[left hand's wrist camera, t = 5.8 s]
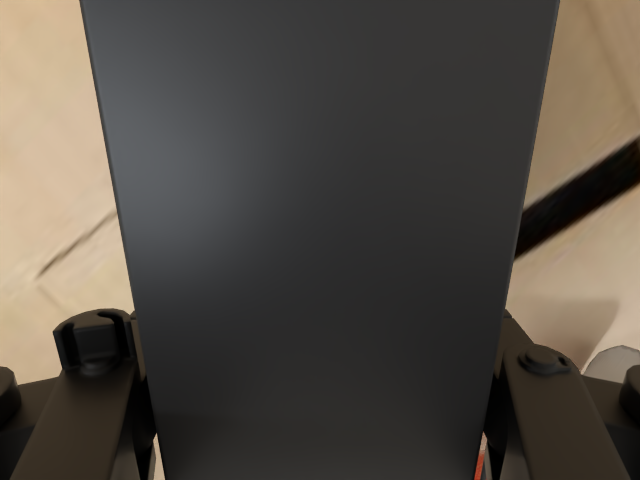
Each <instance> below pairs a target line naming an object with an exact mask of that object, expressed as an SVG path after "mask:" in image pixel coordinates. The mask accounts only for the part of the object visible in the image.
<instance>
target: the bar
mask: <svg viewBox="0 0 640 480" xmlns="http://www.w3.org/2000/svg"><path fill="white" fill-rule="evenodd" d="M79 1H80V7H81V12H82V18H83V24H84V29H85V35H86V40H87V46H88V52H89V57H90V63H91V68H92V74H93V79H94V85H95V91H96V96H97V102H98V107H99V113H100V119H101V124H102V130H103V135H104V141H105V146H106V152H107V158H108V163H109V169H110V174H111V180H112V186H113V191H114V197H115V202H116V208H117V213H118V219H119V225H120V230H121V236H122V241H123V247H124V252H125V258H126V264H127V269H128V275H129V280H130V286H131V292H132V297H133V303H134V308H135V314H136V319H137V325H138V331H139V336H140V342H141V347H142V353H143V359H144V364H145V370H146V375H147V381H148V386H149V392H150V398H151V403H152V409H153V414H154V420H155V426H156V431H157V437H158V442H159V448H160V453H161V459H162V465H163V470H164V476H165V480H474V479H475V473H476V468H477V462H478V456H479V451H480V445H481V440H482V434H483V428H484V423H485V417H486V412H487V406H488V400H489V395H490V389H491V384H492V378H493V372H494V367H495V361H496V356H497V350H498V345H499V339H500V333H501V328H502V322H503V317H504V311H505V305H506V300H507V294H508V289H509V283H510V277H511V272H512V266H513V261H514V255H515V250H516V244H517V238H518V233H519V227H520V222H521V216H522V210H523V205H524V199H525V194H526V188H527V182H528V177H529V171H530V166H531V160H532V154H533V149H534V143H535V138H536V132H537V127H538V121H539V115H540V110H541V104H542V99H543V93H544V87H545V82H546V76H547V71H548V65H549V59H550V54H551V48H552V43H553V37H554V31H555V26H556V20H557V15H558V9H559V4H560V0H79Z"/></svg>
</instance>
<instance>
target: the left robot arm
mask: <svg viewBox="0 0 640 480" xmlns="http://www.w3.org/2000/svg"><path fill="white" fill-rule="evenodd" d="M53 335H54V339H55V343H56V346H57V350H58V354H59V358H60V362H61V365H62V371H61V373H60V375H59V377H55V378H51V379H46V380H41V381H36V382H31V383H26V384H21V385H17V382H16V379H15V375H14V372H13V371H11V370H10V369H9V368H7V367H0V480H154V471H155V463H156V455H155V449H154V444H153V439H154V437H155V435H156V433H157V431H156V426H155V420H154V414H153V409H152V403H151V398H150V392H149V386H148V381H147V375H146V370H145V364H144V359H143V353H142V347H141V342H140V336H139V331H138V325H137V319H136V314H135V311H133V312H132V314H131V315H129V314H128V313H126V312H125V311H123V310H118V309H113V308H112V309H97V310H92V311H87V312H84V313H81V314H78V315H75V316H73V317H71V318H69V319H67V320H65V321H64V322H62V323H60V324H59V325H58V326H57V327H56V328H55V329H54V330H53ZM483 431H484V433H485V436H486V438H487V443H486V449H485V454H484V460H483V465H482V471H481V476H480V480H486V479H487V480H640V365H633V366H632V367H630V368H629V369H628V370H627V371H626V374H625V377H624V381H623V383H618V382H613V381H608V380H603V379H598V378H593V377H588V376H584V375H581V374H580V372H579V370H578V368H577V367H576V366H575V364H574V363H573V362H572V361H571V360H570V359H569V358H567V357H566V356H564V355H563V354H562V353H560V352H558V351H556V350H553V349H551V348H549V347H546V346H542V345H537V344H534V343H533V342H532V340H531V339H530V338H529V337H528V335H527V334H526V333H525V332H524V331H523V329H522V328H521V327H520V326H519V324H518V323H517V322H516V321H515V319H514V318H512V316H511V315H510V313H509V312H508V311H507V310H506V309H505V311H504V317H503V322H502V328H501V333H500V339H499V345H498V350H497V356H496V361H495V367H494V372H493V378H492V384H491V389H490V395H489V400H488V406H487V412H486V417H485V423H484V428H483Z"/></svg>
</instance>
